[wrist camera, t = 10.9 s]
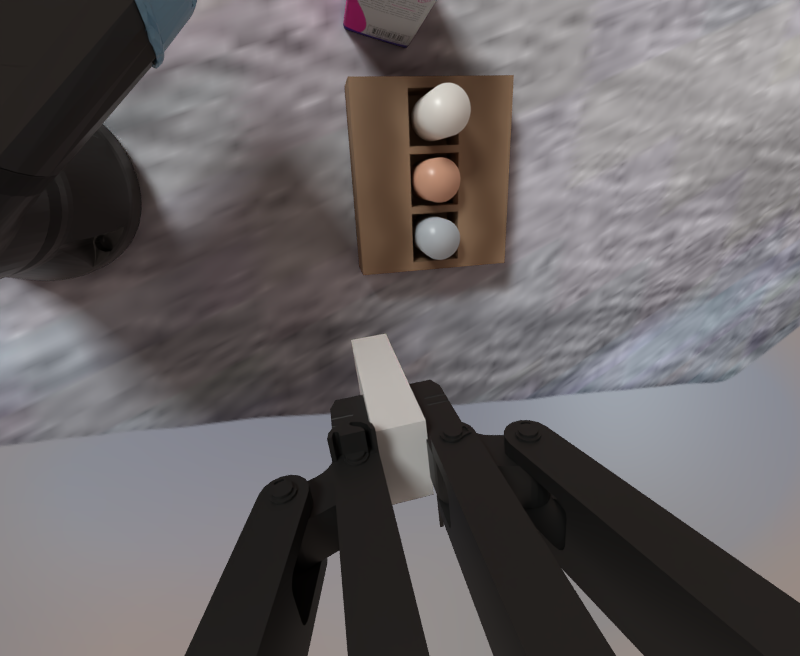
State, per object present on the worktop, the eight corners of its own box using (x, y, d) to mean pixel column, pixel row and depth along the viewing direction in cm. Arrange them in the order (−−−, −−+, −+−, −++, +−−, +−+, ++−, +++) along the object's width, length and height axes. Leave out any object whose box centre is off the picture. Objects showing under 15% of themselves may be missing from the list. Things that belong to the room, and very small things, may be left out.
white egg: (411, 142, 35) (425, 137, 31) (410, 95, 34) (424, 82, 29) (451, 140, 36) (470, 135, 31) (451, 94, 34) (471, 82, 30)
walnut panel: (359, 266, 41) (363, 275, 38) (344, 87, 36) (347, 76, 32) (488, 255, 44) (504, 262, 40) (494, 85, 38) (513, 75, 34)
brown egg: (408, 200, 39) (420, 203, 35) (407, 160, 38) (419, 158, 33) (444, 198, 40) (460, 201, 35) (444, 158, 38) (460, 156, 34)
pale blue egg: (410, 252, 41) (421, 261, 36) (409, 215, 40) (420, 220, 35) (444, 249, 41) (459, 258, 37) (444, 213, 40) (460, 217, 36)
